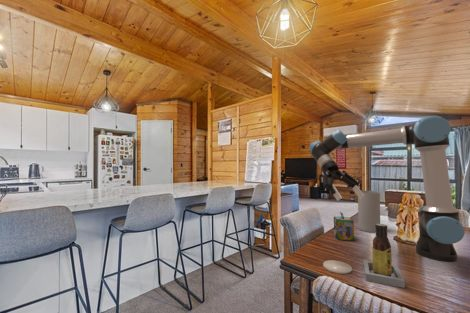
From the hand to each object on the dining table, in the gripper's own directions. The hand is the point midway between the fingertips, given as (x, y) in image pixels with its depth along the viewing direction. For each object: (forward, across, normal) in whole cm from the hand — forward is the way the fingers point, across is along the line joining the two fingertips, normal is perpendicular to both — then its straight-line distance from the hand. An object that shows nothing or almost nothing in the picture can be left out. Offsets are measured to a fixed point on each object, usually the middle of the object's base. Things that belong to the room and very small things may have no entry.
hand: (351, 198), depth 105 cm
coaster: (+23, +12, -17) cm, 31 cm away
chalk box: (+2, -20, -37) cm, 43 cm away
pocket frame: (+31, +1, -8) cm, 32 cm away
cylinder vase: (-3, -48, -42) cm, 64 cm away
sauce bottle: (+31, +1, -9) cm, 32 cm away
